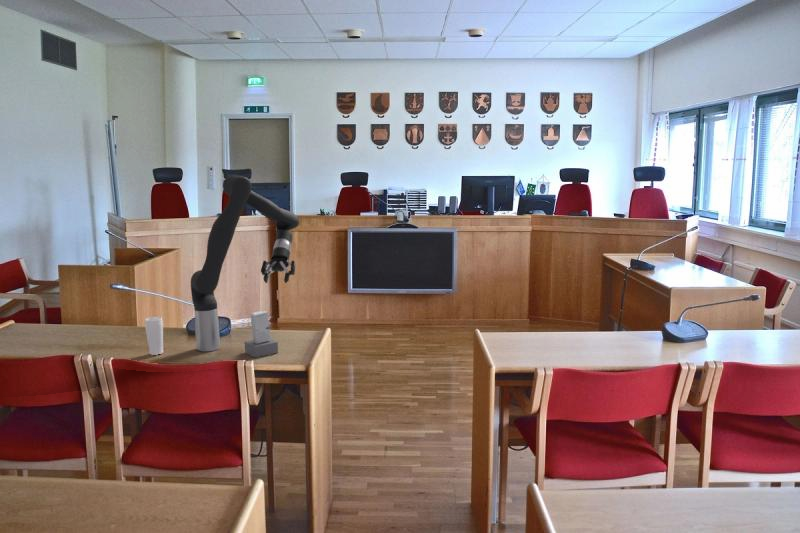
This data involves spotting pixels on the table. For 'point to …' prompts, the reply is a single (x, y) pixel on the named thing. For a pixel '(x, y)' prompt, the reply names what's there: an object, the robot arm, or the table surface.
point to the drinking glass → (154, 334)
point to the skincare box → (260, 326)
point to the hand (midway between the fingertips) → (275, 281)
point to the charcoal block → (261, 348)
